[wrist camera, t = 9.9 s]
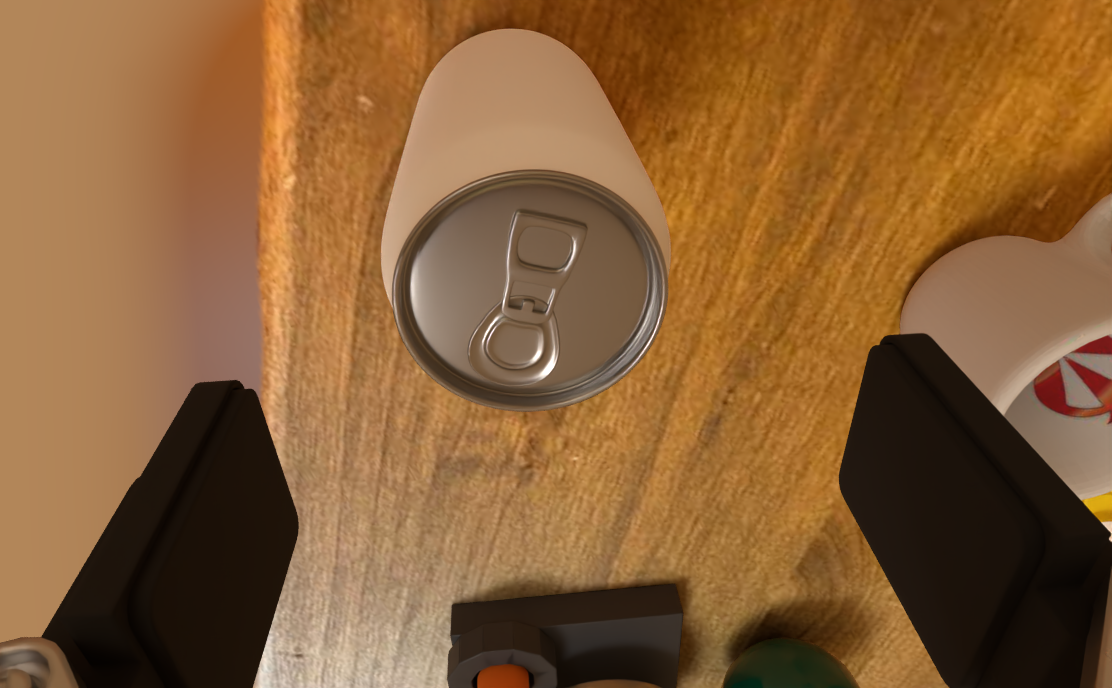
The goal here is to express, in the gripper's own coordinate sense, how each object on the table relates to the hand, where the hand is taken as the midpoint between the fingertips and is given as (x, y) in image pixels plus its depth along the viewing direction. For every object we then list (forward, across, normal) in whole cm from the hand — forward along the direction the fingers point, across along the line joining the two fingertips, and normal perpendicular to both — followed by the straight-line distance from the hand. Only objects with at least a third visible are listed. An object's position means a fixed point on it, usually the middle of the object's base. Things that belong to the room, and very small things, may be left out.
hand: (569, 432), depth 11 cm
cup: (+17, -18, +7) cm, 26 cm away
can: (+16, +1, 0) cm, 16 cm away
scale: (+16, 0, +31) cm, 35 cm away
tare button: (+13, +3, +27) cm, 30 cm away
